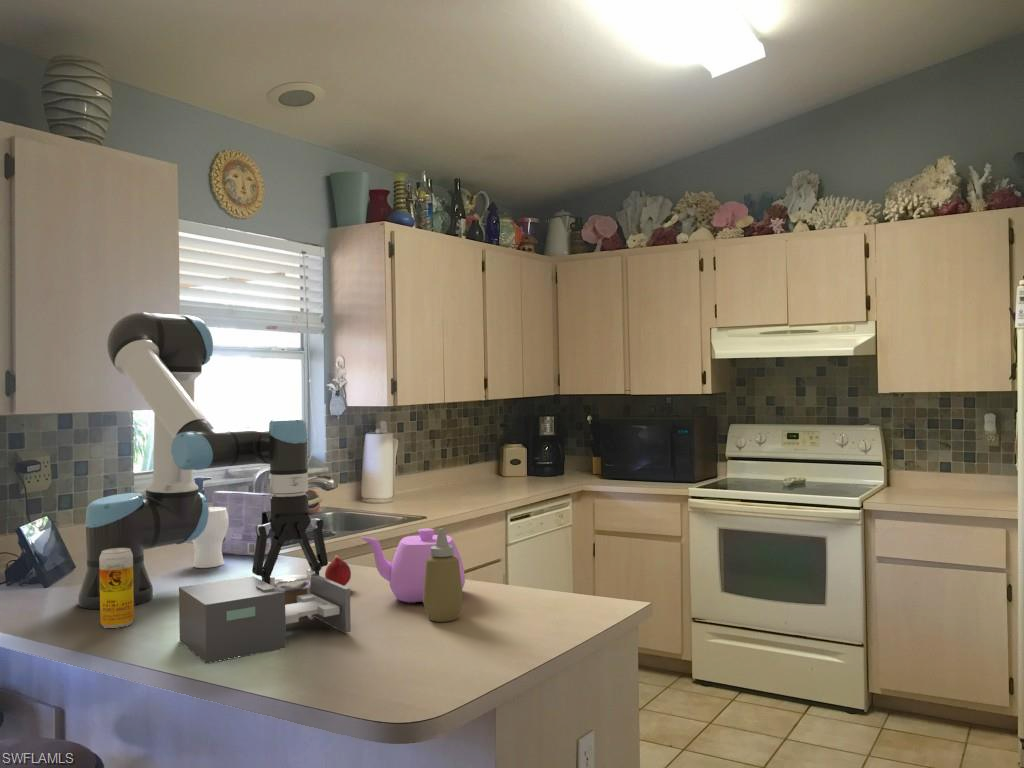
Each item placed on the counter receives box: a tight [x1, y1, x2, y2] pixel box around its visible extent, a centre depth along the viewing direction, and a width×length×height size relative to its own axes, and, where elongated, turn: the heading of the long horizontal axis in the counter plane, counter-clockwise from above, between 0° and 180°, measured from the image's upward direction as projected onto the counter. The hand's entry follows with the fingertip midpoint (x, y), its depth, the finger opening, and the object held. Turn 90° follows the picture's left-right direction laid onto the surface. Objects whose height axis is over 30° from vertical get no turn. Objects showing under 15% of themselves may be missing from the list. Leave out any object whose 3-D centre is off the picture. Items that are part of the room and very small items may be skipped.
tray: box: [285, 574, 352, 633], centre depth 163 cm, size 17×14×8 cm
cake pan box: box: [212, 490, 274, 557], centre depth 245 cm, size 19×5×18 cm, turn 68°
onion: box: [324, 555, 352, 587], centre depth 197 cm, size 6×6×8 cm
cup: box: [191, 506, 229, 569], centre depth 229 cm, size 11×11×15 cm
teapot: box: [360, 527, 466, 604], centre depth 190 cm, size 23×21×15 cm
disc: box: [274, 574, 311, 591], centre depth 175 cm, size 8×8×2 cm
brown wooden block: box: [284, 588, 309, 618], centre depth 175 cm, size 5×5×6 cm
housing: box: [178, 576, 287, 664], centre depth 156 cm, size 17×14×10 cm
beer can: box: [99, 548, 135, 629], centre depth 171 cm, size 6×6×15 cm
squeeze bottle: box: [422, 527, 464, 623], centre depth 171 cm, size 8×8×18 cm
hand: (291, 604), depth 175 cm, fingers closed on disc, 8 cm apart
